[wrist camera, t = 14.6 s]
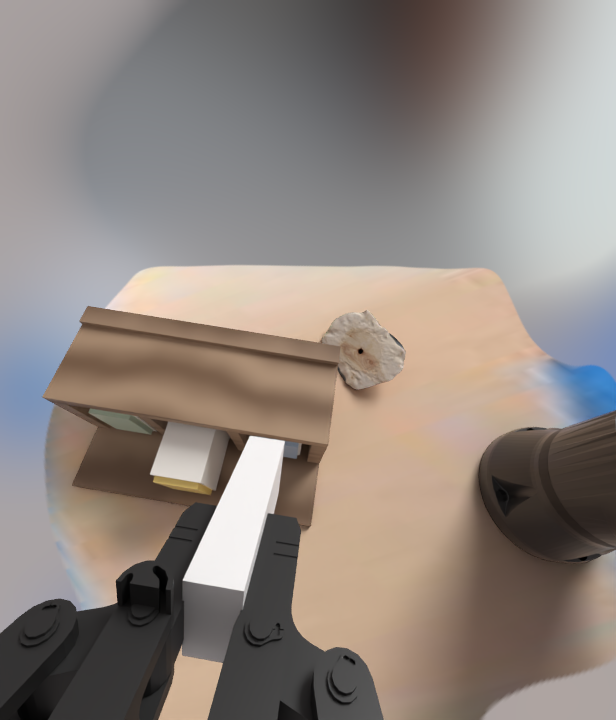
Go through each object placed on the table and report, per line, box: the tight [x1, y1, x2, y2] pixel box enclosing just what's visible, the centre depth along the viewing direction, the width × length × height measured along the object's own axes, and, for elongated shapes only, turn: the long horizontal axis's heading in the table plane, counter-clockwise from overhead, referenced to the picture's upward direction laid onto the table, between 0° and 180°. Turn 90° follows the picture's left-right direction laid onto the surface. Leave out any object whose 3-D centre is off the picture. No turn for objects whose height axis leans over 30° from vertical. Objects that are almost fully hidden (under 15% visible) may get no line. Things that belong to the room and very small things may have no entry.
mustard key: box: [150, 421, 230, 495], centre depth 37 cm, size 8×5×8 cm, turn 171°
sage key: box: [88, 409, 157, 435], centre depth 40 cm, size 8×5×8 cm, turn 171°
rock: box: [322, 310, 406, 390], centre depth 48 cm, size 11×4×12 cm
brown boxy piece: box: [43, 306, 341, 526], centre depth 37 cm, size 18×28×12 cm, turn 81°
